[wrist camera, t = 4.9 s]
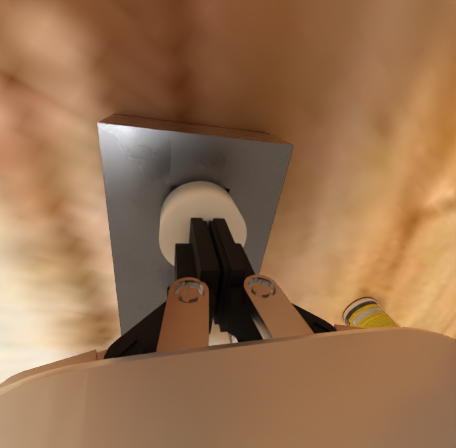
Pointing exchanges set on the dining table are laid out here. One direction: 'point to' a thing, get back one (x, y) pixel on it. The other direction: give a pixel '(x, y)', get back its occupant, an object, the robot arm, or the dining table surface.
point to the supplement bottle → (368, 315)
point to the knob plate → (167, 182)
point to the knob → (196, 214)
